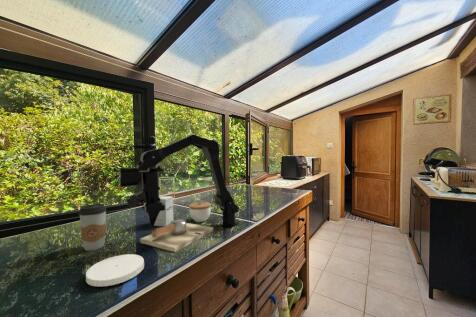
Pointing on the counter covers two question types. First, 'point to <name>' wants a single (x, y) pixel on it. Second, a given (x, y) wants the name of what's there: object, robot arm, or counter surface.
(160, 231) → the handle
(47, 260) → the counter surface
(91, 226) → the coffee cup
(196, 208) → the lidded jar
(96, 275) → the plastic lid
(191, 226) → the coupling base
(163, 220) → the supplement box
